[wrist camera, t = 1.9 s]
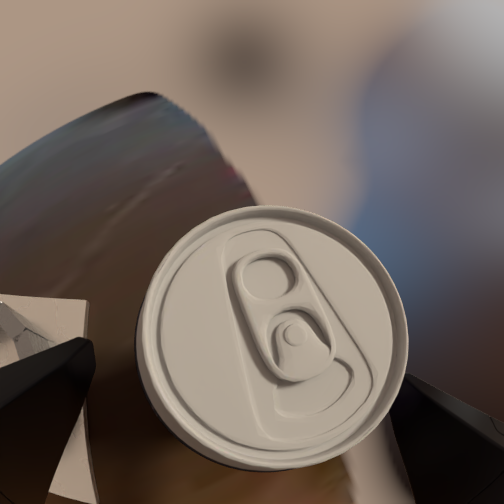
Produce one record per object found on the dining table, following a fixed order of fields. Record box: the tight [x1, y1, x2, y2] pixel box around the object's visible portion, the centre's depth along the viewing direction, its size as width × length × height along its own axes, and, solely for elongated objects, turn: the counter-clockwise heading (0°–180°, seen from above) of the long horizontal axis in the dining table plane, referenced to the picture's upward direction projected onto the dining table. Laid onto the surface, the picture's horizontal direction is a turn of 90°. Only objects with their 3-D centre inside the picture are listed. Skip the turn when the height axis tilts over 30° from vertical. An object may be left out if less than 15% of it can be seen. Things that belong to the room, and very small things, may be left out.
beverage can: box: [134, 205, 408, 472], centre depth 10 cm, size 6×6×12 cm
